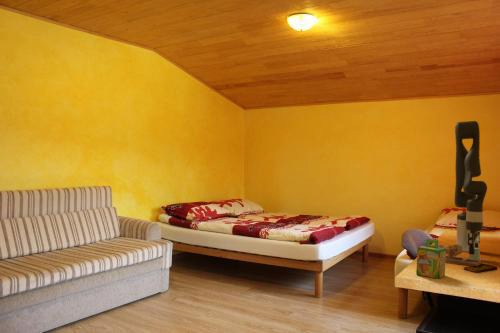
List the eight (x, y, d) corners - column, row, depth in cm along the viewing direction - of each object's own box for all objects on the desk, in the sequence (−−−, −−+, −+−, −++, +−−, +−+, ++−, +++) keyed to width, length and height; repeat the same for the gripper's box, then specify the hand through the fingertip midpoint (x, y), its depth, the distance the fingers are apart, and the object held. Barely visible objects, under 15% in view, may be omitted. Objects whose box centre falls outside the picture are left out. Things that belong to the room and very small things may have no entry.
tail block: (470, 259, 214) (471, 247, 214) (479, 260, 212) (480, 248, 212) (469, 260, 211) (469, 248, 211) (478, 261, 208) (478, 249, 209)
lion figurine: (461, 263, 206) (465, 245, 205) (457, 264, 202) (460, 246, 201) (432, 253, 216) (435, 236, 216) (427, 254, 213) (430, 237, 212)
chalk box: (415, 275, 175) (416, 239, 175) (423, 271, 182) (423, 237, 182) (439, 279, 169) (440, 242, 169) (445, 275, 176) (446, 239, 176)
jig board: (434, 256, 218) (434, 253, 218) (482, 263, 204) (482, 260, 204) (426, 259, 208) (426, 256, 208) (476, 267, 194) (476, 263, 194)
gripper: (469, 219, 219) (468, 250, 219) (462, 220, 208) (461, 253, 208) (485, 220, 215) (485, 252, 214) (479, 222, 204) (478, 256, 203)
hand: (473, 253), depth 211 cm, fingers open, 8 cm apart
